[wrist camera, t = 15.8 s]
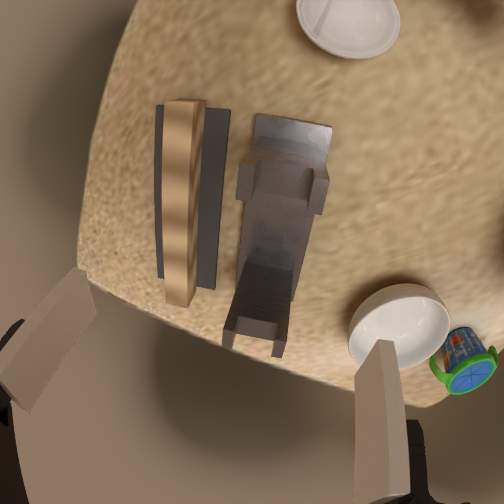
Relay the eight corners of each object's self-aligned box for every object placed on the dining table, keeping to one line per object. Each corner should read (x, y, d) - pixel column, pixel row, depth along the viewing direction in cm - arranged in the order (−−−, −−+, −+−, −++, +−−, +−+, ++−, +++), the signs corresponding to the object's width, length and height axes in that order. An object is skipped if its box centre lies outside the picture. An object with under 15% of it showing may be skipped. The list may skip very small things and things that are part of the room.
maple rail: (179, 98, 34) (164, 101, 30) (206, 100, 34) (194, 102, 30) (175, 286, 50) (166, 303, 46) (196, 290, 50) (187, 308, 46)
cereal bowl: (393, 249, 41) (405, 277, 35) (454, 296, 43) (468, 324, 37) (325, 320, 50) (326, 352, 44) (390, 354, 52) (395, 383, 46)
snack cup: (495, 320, 44) (514, 357, 36) (473, 355, 50) (486, 392, 41) (437, 318, 46) (453, 360, 37) (416, 356, 52) (426, 397, 43)
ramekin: (287, -12, 25) (284, -25, 21) (376, -18, 23) (385, -31, 18) (308, 67, 31) (309, 64, 26) (396, 60, 28) (410, 57, 23)
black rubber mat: (158, 104, 36) (156, 105, 35) (230, 109, 35) (229, 110, 34) (159, 275, 50) (158, 277, 50) (215, 287, 50) (214, 290, 49)
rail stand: (258, 113, 35) (230, 130, 21) (331, 126, 34) (349, 152, 21) (237, 282, 48) (212, 357, 35) (293, 293, 48) (285, 371, 35)
